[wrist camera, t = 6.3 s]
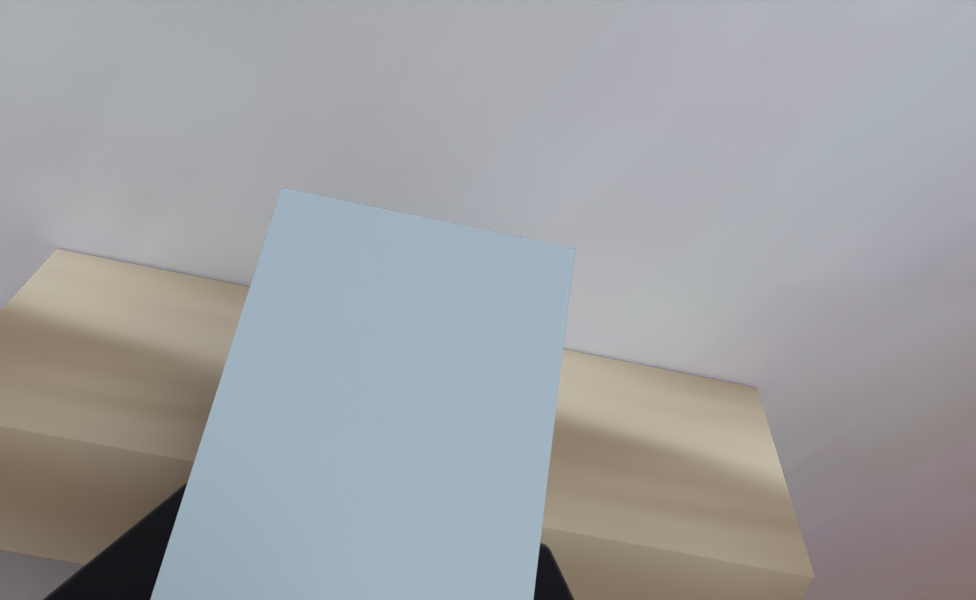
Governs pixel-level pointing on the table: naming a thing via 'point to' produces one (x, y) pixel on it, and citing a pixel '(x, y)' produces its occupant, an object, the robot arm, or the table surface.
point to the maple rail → (195, 379)
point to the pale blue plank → (378, 415)
